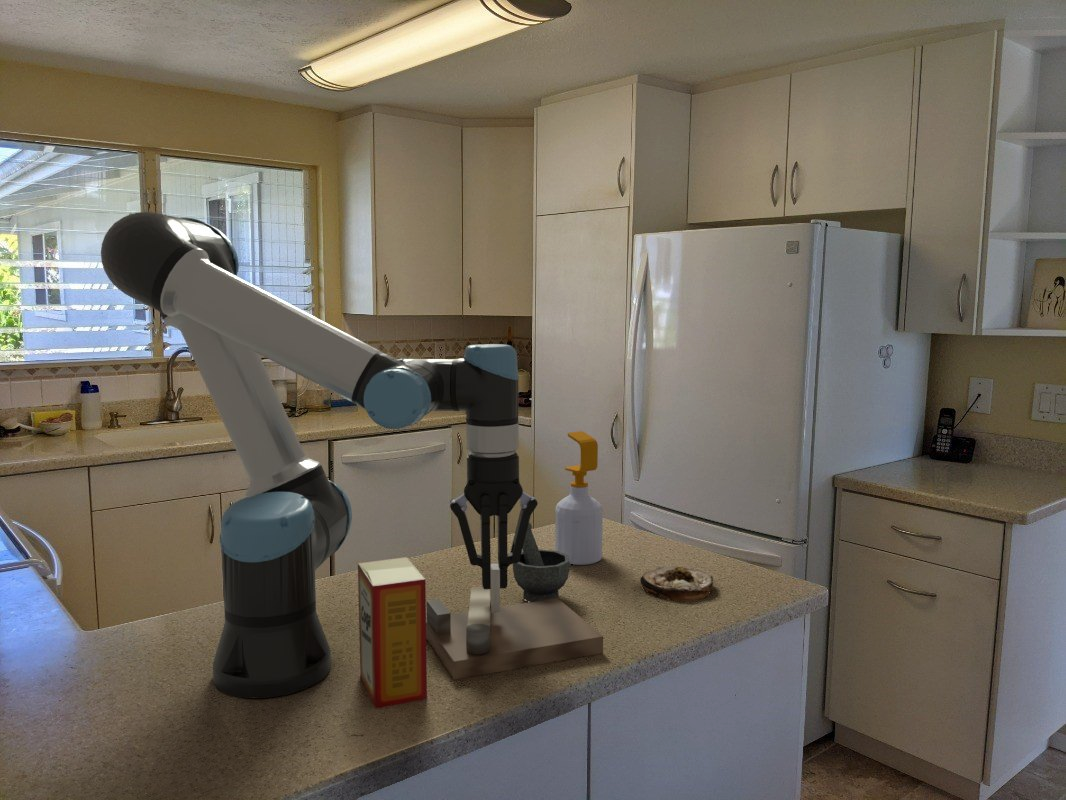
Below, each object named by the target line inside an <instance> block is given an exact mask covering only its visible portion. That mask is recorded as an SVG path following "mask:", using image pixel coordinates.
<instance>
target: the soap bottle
mask: <svg viewBox="0 0 1066 800" xmlns="http://www.w3.org/2000/svg"><path fill="white" fill-rule="evenodd" d="M567 436H568V438H570V439H571V440H573V441H574V442H576V443H577V444H578V445H579V447H580V464H577V465H571V466H565V467H564V468H565V469H564V470H565V471H568V472H572V473H571V474H572V476H573V477H574V481H571V482H570V493H569V495H567V496H565V497H564V498H562V499H561V500H559V502H557V504H556V506H555V525H554V526H555V527H554V528H555V537H554V540H555V541H554V543H555V544H554V549H555V550H554V551H559V552H561V553H564V554H566V555H569V561H570V565H571V564H573V566H588V565H593V564H596V563H598V562H600V561H601V560H602V558H603V529H604V527H603V526H604V525H603V524H604V522H603V518H604V517H603V516H604V513H603V512H604V509H603V507H602V505H601V502H599V501H598V500H597V499H596V498H594V497H592V496H591V495H589V482H587V481H585V476H587V474H588V473H587V472H590V471H596V470H597V468H598V458H599V457H598V453H599V452H598V451H599V445H598V442H597V440H596V439H595V438H594V437H593V436H591V435H590V434H588V433H587V432H584V431H582V430H581V431H580V430H578V431H577V430H576V431H572V432H571V431H570V432H568V433H567Z"/></svg>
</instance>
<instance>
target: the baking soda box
mask: <svg viewBox="0 0 1066 800" xmlns="http://www.w3.org/2000/svg"><path fill="white" fill-rule="evenodd" d="M357 579H358V581H357V583H358V584H357V587H358V621H359V622H358V624H359V627H358V628H359V630H358V633H359V634H358V635H359V666H360V667H359V668H360V670H359V671H360V672H359V675H360V678H361V680H362V682H363V684H364V687H365V689H366V691H367V693H368V695H369V697H370V699H371V701H372V703H373V704H372V705H373V706H374V708H375V709H379V708H386V707H391V706H396V705H402V704H406V703H407V704H408V703H411V702H412V703H413V702H416V701H417V702H418V701H422V700H423V701H424V700H427V699H428V680H427V673H428V670H427V669H428V667H427V663H428V662H427V638H426V617H427V600H426V599H427V598H426V597H427V596H426V595H427V594H426V587H427V586H426V585H427V584H426V578H425V577H424V575H422V573H421V572H420V571H419V570H418V568H417V567H416V566H415V565H414V564H413V563H412V562H411V561H410V559H409V558H408V557H407V556H402V557H397V558H389V559H387V558H386V559H378V560H371V561H362V562H357Z"/></svg>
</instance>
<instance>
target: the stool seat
mask: <svg viewBox="0 0 1066 800" xmlns="http://www.w3.org/2000/svg"><path fill="white" fill-rule="evenodd" d="M468 614H469V610H467V611H462V612H455V613H451V612H450V611H449V609H448V608H447V607H446V605H444V603H443V602H442V600H441V599H440V598H437V599H429V600H426V641H427V642H428V643H429V642H430V643H429V644H430V646H431V645H432V646H431V647H432V649H433V648H434V649H433V651H434V652H435V653H436V654H437V656H438V658H439V659H440V660H441V662H442V664H443V665H444V667H445V668H446V669H447V671H448V672H449V674H450V676H451V677H452V678H453V680H460V679H465V678H471V677H476V676H482V675H488V674H493V673H498V672H504V671H510V670H515V669H521V668H527V667H532V665H533V666H538V664H539V665H543V664H545V665H546V664H549V663H555V662H554V661H556V662H561V660H562V661H566V660H572V658H573V659H577V658H583V656H584V657H589V656H593V655H599V654H600V653H601V654H604V635H602V634H601V633H600V632H599V631H597V629H595V628H594V627H593V626H591V625H590V624H589V623H588V622H587V621H585V620H584V619H583V618H582V617H581V616H579V614H577V613H576V612H575V611H574V610H572V609H571V608H570V607H569V606H568V605H566V604H565V603H564V602H563V601H562V600H561V599H558V598H556V599H549V600H542V601H535V602H529V603H528V602H522V603H516V604H509V605H503V606H501V605H500V612H499V613H491V617H490V650H489V652H487V653H484V654H471V653H468V652H467V650H466V628H467V623H468Z"/></svg>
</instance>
